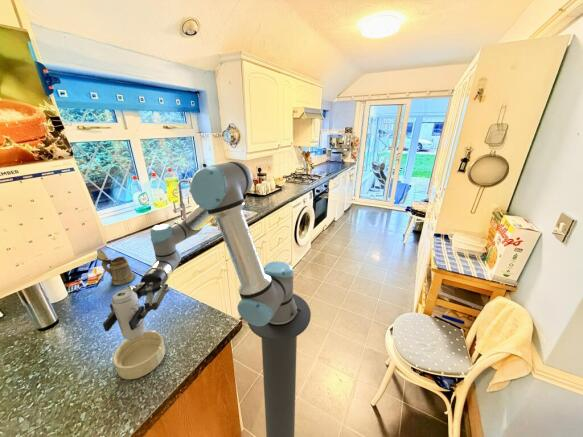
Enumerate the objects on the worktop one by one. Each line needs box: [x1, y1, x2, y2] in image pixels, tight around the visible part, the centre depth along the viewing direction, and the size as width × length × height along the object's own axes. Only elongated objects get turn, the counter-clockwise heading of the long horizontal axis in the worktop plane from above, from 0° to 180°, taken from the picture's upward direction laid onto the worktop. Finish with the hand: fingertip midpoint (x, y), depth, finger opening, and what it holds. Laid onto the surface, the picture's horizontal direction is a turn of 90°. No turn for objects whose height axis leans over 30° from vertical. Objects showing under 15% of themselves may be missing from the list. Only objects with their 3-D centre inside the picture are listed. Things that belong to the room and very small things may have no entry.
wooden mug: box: [96, 249, 135, 286], centre depth 110 cm, size 9×14×18 cm, turn 105°
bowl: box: [112, 330, 166, 380], centre depth 74 cm, size 13×13×6 cm
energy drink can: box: [111, 288, 147, 340], centre depth 69 cm, size 6×6×15 cm
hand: (118, 326), depth 64 cm, fingers closed on energy drink can, 6 cm apart
